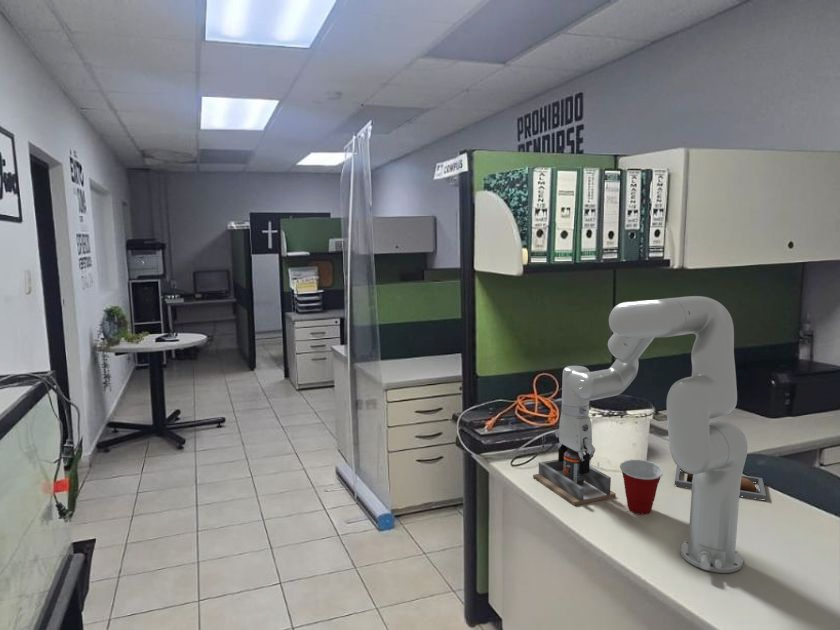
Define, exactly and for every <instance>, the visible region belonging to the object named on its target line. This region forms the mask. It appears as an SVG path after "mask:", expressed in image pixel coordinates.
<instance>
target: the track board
mask: <svg viewBox="0 0 840 630" xmlns="http://www.w3.org/2000/svg"><path fill="white" fill-rule="evenodd" d="M563 469H564V461H563V462H559V461H558V459H552V460H546V461H542V462H538V473H536V474H535V473H534V474H533V475H532V478H533V479H534V480H535V479H536V480H535V481H537V482H538V483H540V484H541V485H543V486H544V487H545V488H548V489H549V490H550V491H551V492H553V493H554V494H556V495H558V497H561V498H562V499H563V500H564V501H566V502H568V503H569V504H570V505H572V506H573V507H575V506H579V505H583V504H584V505H585V504H588V503H593V502H597V501H598V502H599V501H602V500H607V499H612V498H616V497H617V495H616V494H617V493H615V492H614V491H612V490H611V484H612V483H611V482H612V481H611V480H612V478H611V476H608V475H607V474H606V473H604V472H602V471H600V470H598V469H596V468H594V467H593V466H591V465H590V466H589V473H585V474H584V484H583V485H582V486H580V485H578V484H577V483H575V482H573V481H572V480H570V479H569V478H567V477H565V476H564V475H563Z"/></svg>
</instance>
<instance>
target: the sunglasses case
mask: <svg viewBox="0 0 840 630" xmlns="http://www.w3.org/2000/svg"><path fill="white" fill-rule="evenodd" d="M692 479H693V474H690V473H687V475H686V481H687V482H692ZM755 486H756V483H753V482H752V481H750V480H748V479H746V478H743V477H741V484H740V490H742V491H748V492H755V493H757V486H756V487H755Z"/></svg>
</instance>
